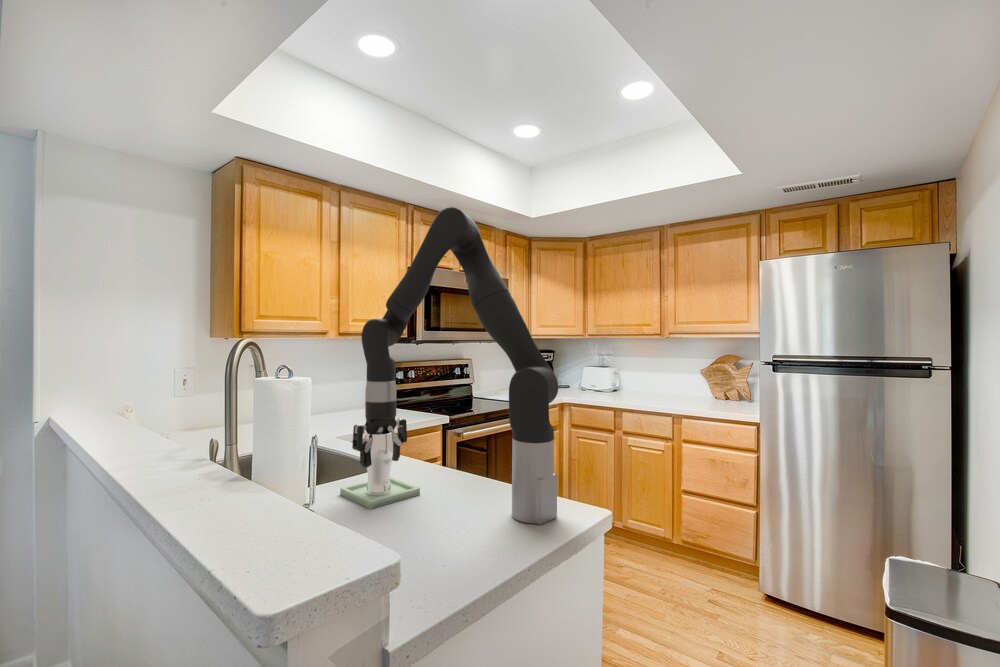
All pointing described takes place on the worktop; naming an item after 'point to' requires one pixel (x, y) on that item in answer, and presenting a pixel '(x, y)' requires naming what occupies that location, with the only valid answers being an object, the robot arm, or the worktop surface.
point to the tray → (397, 493)
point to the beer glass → (379, 464)
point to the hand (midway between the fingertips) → (380, 463)
